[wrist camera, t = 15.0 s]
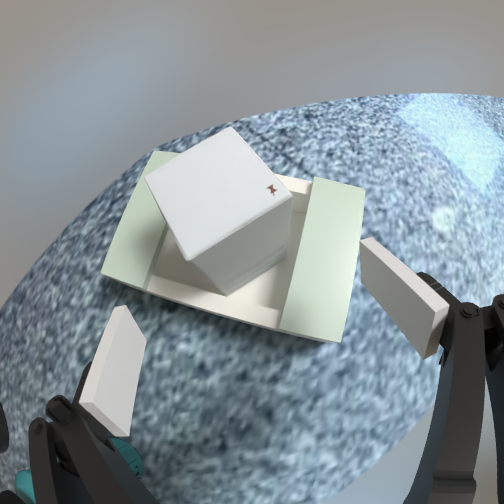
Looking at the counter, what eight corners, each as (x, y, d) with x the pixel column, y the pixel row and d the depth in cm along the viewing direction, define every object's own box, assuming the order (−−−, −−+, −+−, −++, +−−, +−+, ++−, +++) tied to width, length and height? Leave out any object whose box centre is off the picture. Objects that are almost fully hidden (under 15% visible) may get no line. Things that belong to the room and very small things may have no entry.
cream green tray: (128, 286, 29) (100, 273, 24) (170, 179, 33) (154, 150, 28) (326, 342, 26) (340, 342, 20) (350, 216, 30) (365, 189, 24)
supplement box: (248, 204, 30) (233, 122, 18) (288, 259, 28) (297, 196, 16) (189, 239, 29) (140, 174, 17) (224, 299, 27) (186, 263, 15)
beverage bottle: (99, 428, 24) (-34, 465, 5) (147, 436, 24) (15, 504, 5) (109, 473, 22) (-3, 531, 3) (157, 483, 22) (55, 571, 3)
